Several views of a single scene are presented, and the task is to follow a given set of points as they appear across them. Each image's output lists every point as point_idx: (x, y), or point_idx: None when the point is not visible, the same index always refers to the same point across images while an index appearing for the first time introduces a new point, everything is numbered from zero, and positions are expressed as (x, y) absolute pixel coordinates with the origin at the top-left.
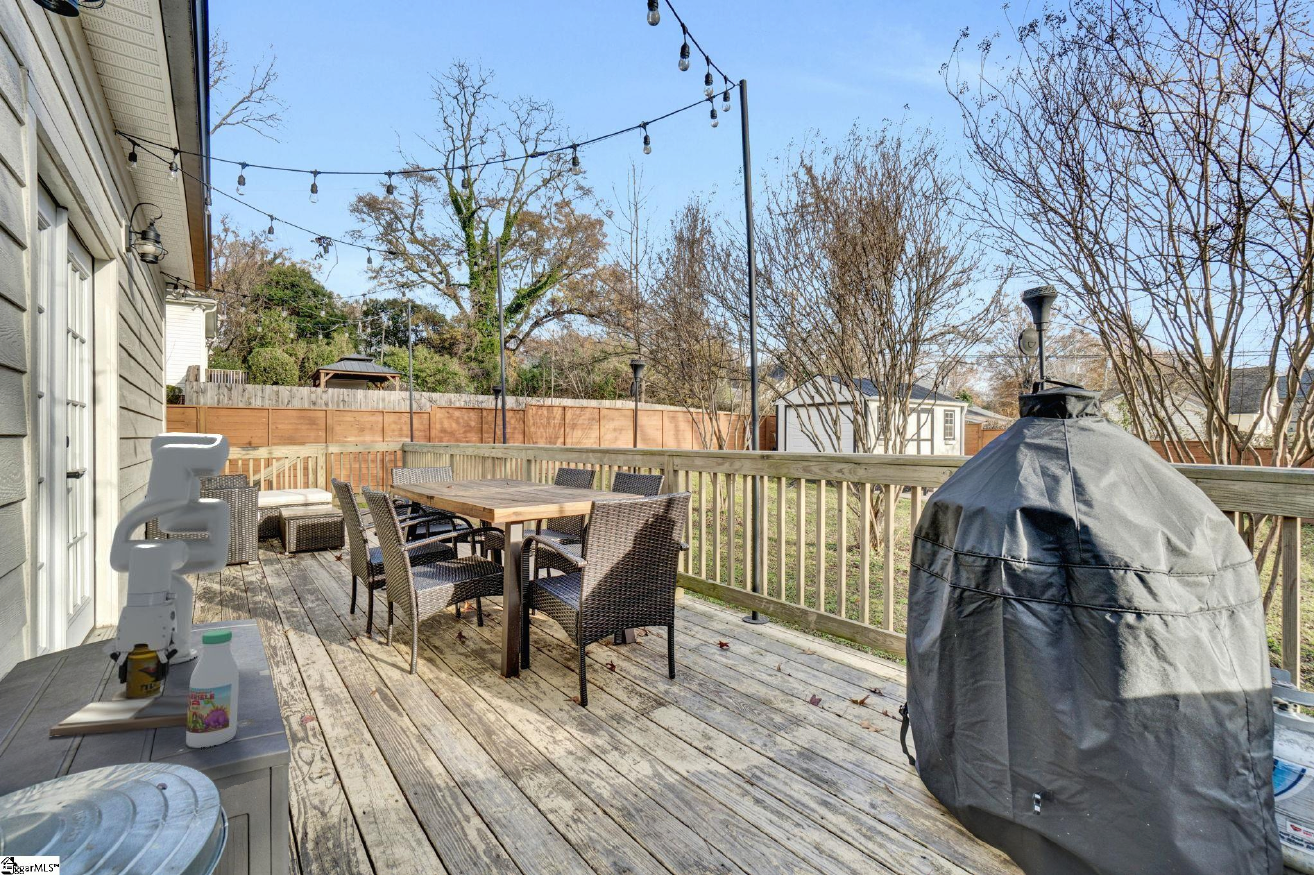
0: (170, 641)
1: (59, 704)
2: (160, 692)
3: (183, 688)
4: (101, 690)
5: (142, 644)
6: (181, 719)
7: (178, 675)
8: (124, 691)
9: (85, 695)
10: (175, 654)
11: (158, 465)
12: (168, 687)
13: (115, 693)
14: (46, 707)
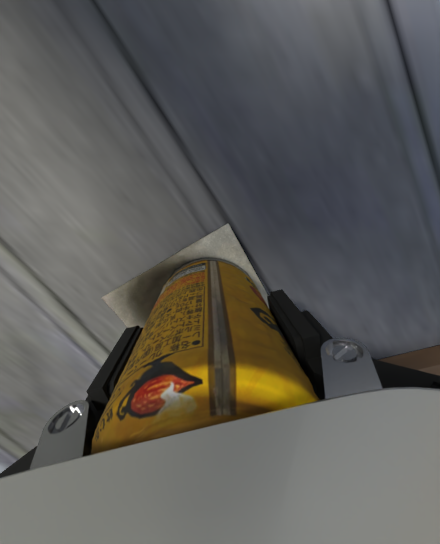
0: (432, 416)
1: (16, 384)
2: (260, 289)
3: (312, 238)
4: (12, 262)
5: None
6: None
7: (178, 38)
8: (129, 293)
9: (10, 312)
10: (413, 376)
11: None
12: (248, 227)
13: (111, 307)
14: (5, 405)
